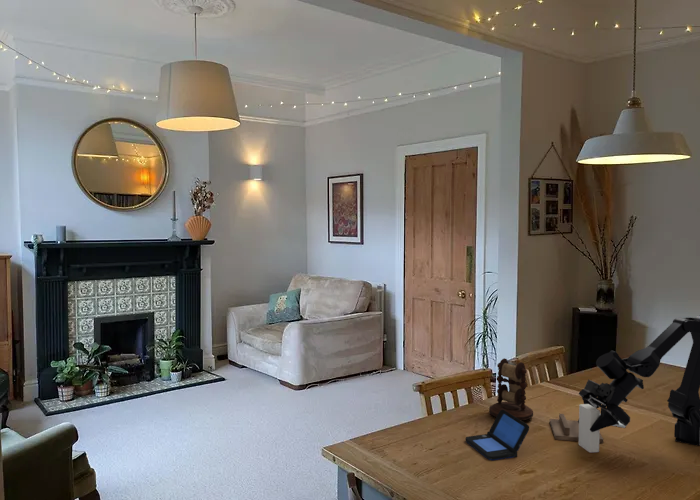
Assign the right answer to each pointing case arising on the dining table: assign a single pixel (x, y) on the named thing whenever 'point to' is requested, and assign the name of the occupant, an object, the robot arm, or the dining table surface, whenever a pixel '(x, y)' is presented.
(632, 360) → the robot arm
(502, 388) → the wooden spool holder
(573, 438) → the rack
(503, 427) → the handheld game console
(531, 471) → the dining table surface
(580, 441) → the cream rectangular block
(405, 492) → the dining table surface
